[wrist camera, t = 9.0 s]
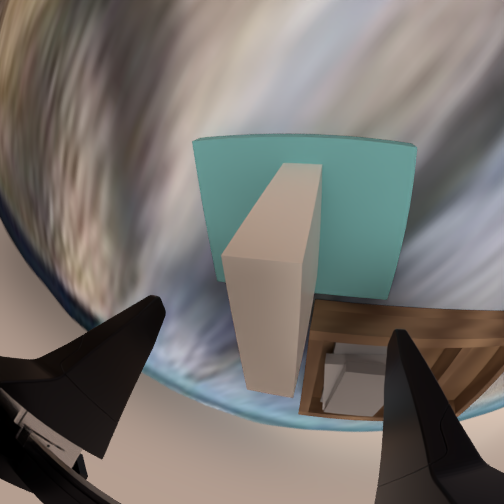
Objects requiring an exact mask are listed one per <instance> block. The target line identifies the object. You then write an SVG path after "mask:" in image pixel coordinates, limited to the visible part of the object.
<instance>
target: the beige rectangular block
mask: <svg viewBox="0 0 504 504" xmlns="http://www.w3.org/2000/svg"><path fill="white" fill-rule="evenodd" d="M321 199H322V165H321V164H302V163H283V164H282V166H281V167H280V169H279V170H278V171H277V173H276V174H275V176H274V177H273V179H272V180H271V182H270V183H269V185H268V186H267V187H266V189H265V190H264V192H263V193H262V195H261V196H260V198H259V199H258V201H257V202H256V204H255V205H254V207H253V208H252V210H251V211H250V213H249V214H248V216H247V217H246V218H245V220H244V221H243V223H242V224H241V226H240V227H239V229H238V230H237V232H236V233H235V235H234V236H233V238H232V239H231V241H230V243H229V244H228V246H227V247H226V249H225V250H224V252H223V253H222V255H221V258H222V264H223V269H224V275H225V281H226V286H227V291H228V297H229V302H230V308H231V313H232V318H233V323H234V328H235V333H236V338H237V343H238V348H239V353H240V358H241V363H242V368H243V372H244V377H245V382H246V386H247V389H248V390H253V391H257V392H262V393H268V394H273V395H279V396H285V397H291V398H293V395H294V391H295V387H296V383H297V378H298V374H299V370H300V365H301V360H302V356H303V351H304V346H305V341H306V336H307V331H308V326H309V320H310V315H311V309H312V303H313V298H314V292H315V285H316V279H317V271H318V257H319V242H320V224H321Z"/></svg>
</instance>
